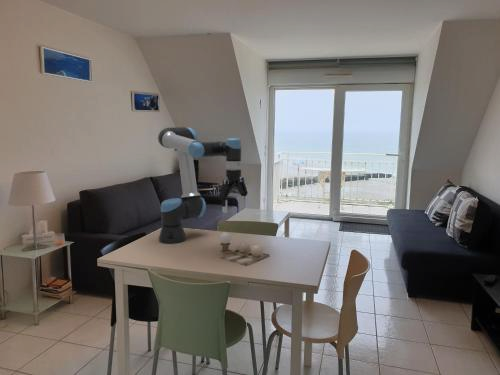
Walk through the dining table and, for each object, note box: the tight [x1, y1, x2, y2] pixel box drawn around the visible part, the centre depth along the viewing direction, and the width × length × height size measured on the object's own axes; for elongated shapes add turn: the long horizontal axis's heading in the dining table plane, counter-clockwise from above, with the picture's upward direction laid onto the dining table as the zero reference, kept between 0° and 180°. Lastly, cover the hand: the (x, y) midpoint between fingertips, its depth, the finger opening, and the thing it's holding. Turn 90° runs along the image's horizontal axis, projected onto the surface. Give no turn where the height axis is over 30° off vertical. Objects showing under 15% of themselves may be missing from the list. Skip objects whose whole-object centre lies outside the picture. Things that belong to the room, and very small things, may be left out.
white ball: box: [219, 232, 232, 244], centre depth 206 cm, size 6×6×6 cm
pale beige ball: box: [237, 241, 251, 254], centre depth 203 cm, size 6×6×6 cm
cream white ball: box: [250, 244, 264, 257], centre depth 197 cm, size 6×6×6 cm
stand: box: [219, 242, 231, 254], centre depth 207 cm, size 5×5×5 cm
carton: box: [219, 248, 270, 267], centre depth 197 cm, size 18×18×2 cm
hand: (233, 210), depth 204 cm, fingers open, 13 cm apart
